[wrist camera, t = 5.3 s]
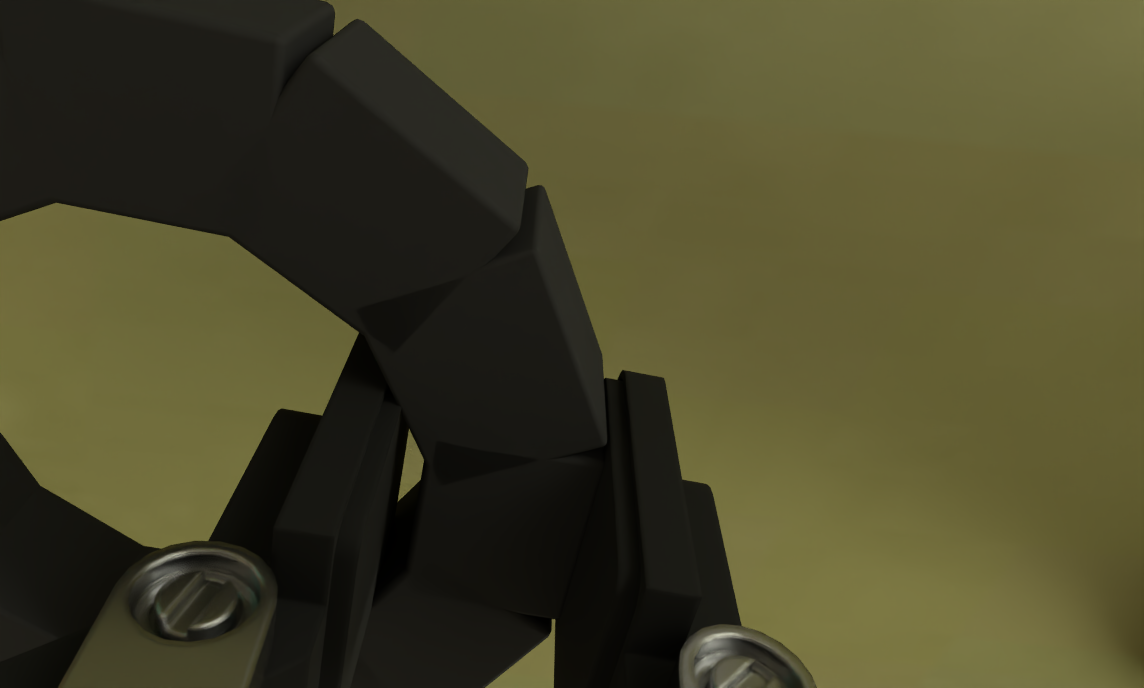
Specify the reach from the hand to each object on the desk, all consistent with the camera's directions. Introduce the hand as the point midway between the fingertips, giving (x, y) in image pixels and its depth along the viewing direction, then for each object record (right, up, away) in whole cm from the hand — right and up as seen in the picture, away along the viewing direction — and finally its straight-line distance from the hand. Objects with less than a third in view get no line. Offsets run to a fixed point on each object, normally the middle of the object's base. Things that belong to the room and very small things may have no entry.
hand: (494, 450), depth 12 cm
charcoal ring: (-4, +1, 0) cm, 4 cm away
